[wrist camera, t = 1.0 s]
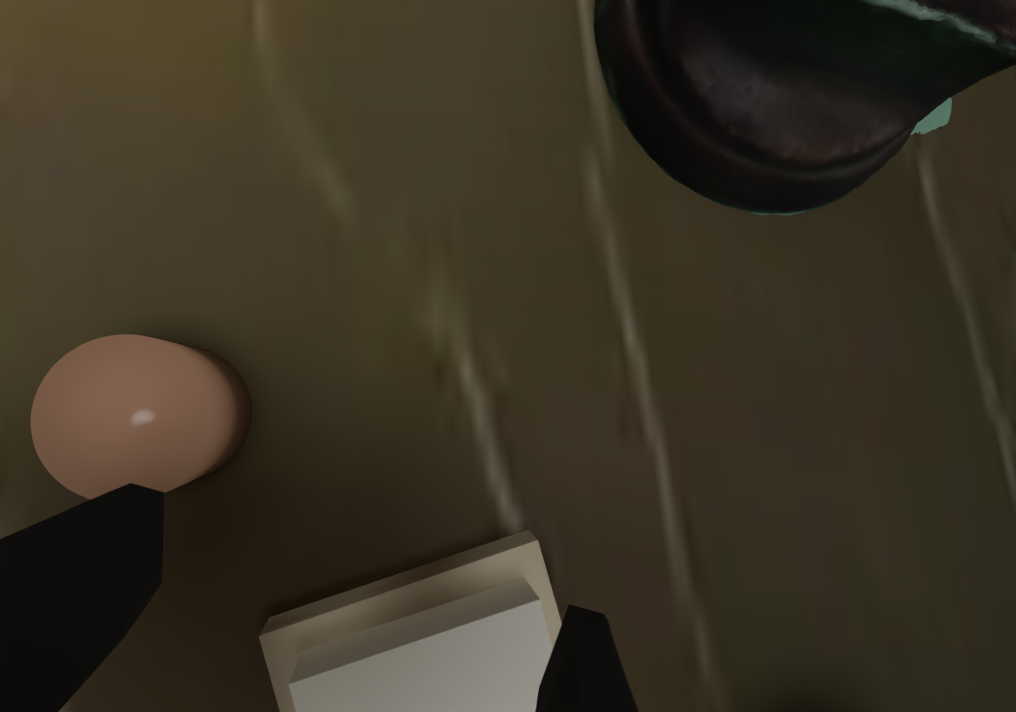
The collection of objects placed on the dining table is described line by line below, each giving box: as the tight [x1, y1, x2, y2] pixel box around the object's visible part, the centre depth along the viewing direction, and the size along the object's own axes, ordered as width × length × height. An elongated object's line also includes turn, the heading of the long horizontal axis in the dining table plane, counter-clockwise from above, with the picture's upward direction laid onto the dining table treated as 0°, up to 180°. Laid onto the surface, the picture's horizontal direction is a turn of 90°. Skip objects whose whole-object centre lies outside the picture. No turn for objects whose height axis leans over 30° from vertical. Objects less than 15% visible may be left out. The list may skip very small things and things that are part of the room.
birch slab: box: [259, 530, 562, 712], centre depth 23 cm, size 10×10×2 cm
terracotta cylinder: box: [31, 334, 252, 499], centre depth 21 cm, size 5×5×5 cm
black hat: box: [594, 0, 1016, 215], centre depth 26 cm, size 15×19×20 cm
